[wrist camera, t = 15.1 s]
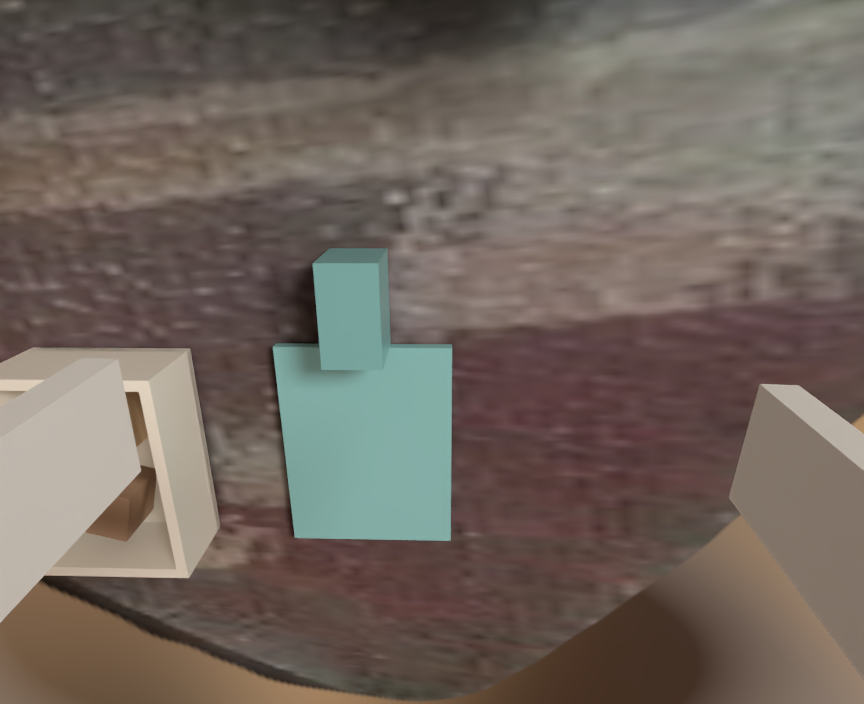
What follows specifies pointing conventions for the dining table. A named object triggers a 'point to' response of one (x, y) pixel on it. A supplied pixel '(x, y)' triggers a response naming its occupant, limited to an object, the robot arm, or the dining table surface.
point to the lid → (364, 414)
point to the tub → (143, 462)
